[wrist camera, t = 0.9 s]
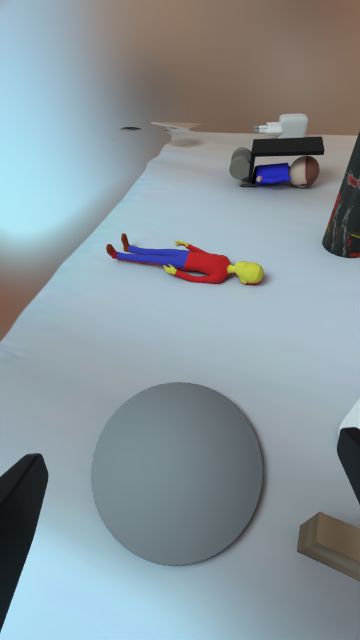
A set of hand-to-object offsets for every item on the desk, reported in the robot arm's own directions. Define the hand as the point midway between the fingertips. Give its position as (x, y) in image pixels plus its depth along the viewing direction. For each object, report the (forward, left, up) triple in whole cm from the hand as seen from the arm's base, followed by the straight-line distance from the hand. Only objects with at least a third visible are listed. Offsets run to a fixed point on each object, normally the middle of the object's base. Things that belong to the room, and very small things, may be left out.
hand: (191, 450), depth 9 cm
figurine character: (+34, -44, -16) cm, 57 cm away
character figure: (+24, -17, -16) cm, 33 cm away
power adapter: (+47, -60, -16) cm, 78 cm away
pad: (+5, -2, -15) cm, 16 cm away
